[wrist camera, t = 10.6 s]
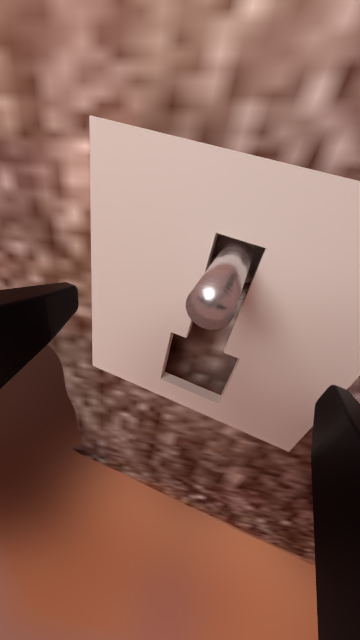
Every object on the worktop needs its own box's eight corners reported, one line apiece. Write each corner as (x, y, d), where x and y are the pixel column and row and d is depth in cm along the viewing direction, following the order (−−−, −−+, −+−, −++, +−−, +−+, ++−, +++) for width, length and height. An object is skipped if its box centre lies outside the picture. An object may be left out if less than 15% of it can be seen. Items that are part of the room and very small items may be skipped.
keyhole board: (466, 207, 12) (506, 217, 10) (288, 425, 24) (288, 452, 22) (116, 122, 16) (89, 115, 14) (108, 349, 27) (92, 365, 25)
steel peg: (285, 225, 16) (287, 277, 8) (259, 286, 18) (243, 366, 11) (219, 206, 16) (168, 239, 9) (202, 267, 19) (153, 331, 12)
